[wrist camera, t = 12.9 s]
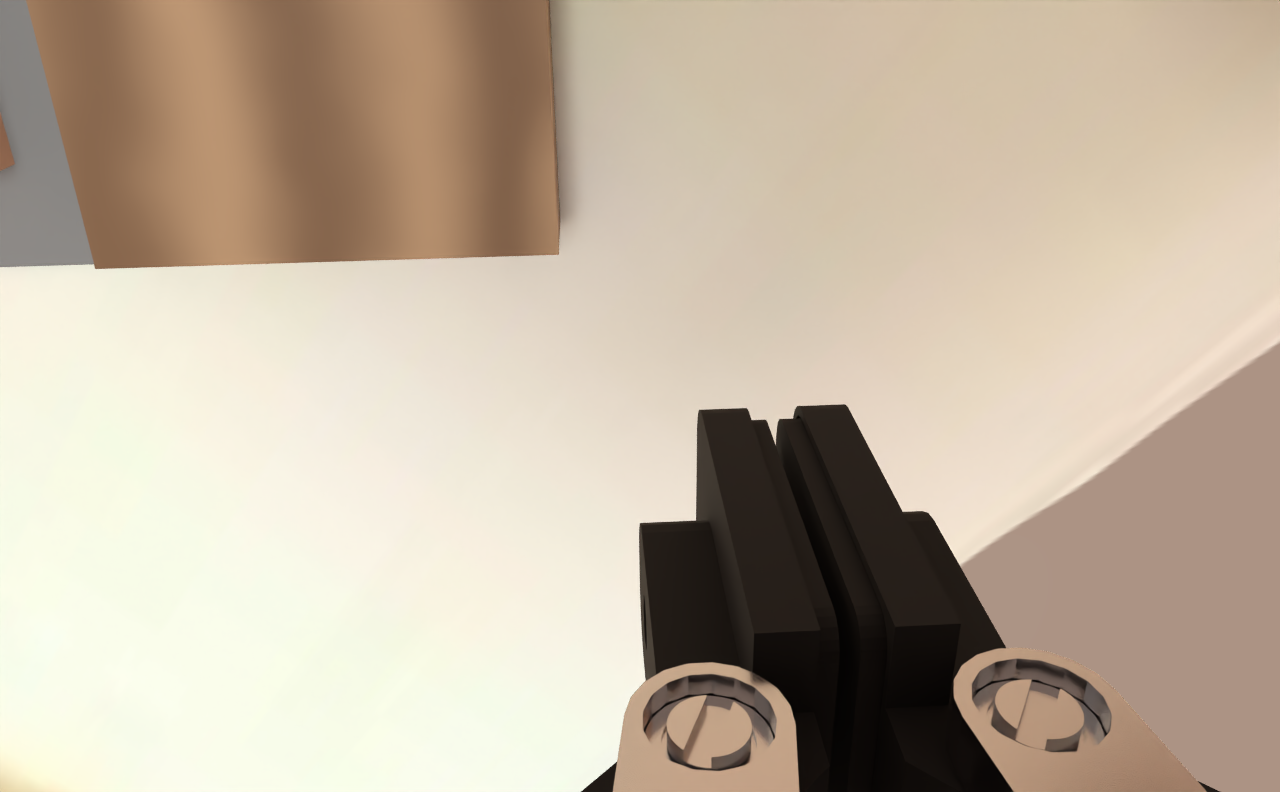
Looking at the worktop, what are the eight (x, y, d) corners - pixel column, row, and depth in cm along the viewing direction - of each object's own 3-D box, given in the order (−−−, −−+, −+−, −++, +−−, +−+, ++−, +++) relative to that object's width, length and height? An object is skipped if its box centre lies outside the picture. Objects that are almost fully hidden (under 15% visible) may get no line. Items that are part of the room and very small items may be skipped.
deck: (539, -194, 34) (535, -203, 30) (559, 221, 40) (558, 254, 37) (40, -187, 33) (-25, -197, 30) (138, 234, 39) (95, 268, 36)
